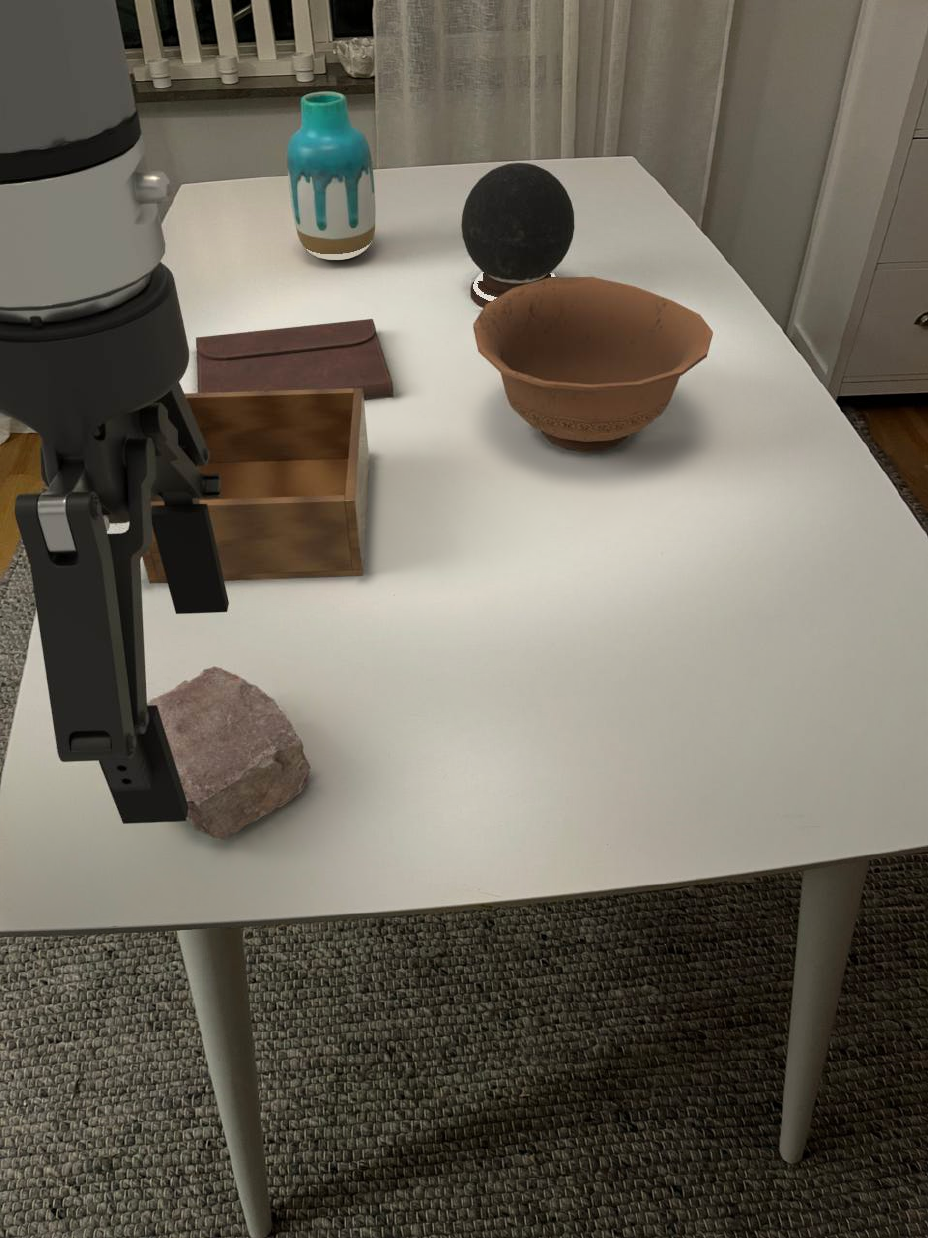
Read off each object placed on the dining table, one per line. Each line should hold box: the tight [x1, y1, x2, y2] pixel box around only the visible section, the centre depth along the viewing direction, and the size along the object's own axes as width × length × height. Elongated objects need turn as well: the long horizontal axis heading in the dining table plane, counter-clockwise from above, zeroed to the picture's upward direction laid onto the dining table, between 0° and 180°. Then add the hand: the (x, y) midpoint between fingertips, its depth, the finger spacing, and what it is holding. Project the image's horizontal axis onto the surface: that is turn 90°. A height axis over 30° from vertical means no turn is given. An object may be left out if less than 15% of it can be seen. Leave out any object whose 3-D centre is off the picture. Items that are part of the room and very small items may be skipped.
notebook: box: [195, 318, 394, 400], centre depth 109 cm, size 15×20×2 cm
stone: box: [147, 666, 311, 840], centre depth 68 cm, size 12×9×5 cm
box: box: [141, 388, 370, 584], centre depth 88 cm, size 18×18×8 cm
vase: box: [286, 91, 377, 254], centre depth 127 cm, size 11×11×19 cm
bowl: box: [472, 276, 714, 453], centre depth 97 cm, size 22×22×11 cm
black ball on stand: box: [460, 162, 575, 309], centre depth 119 cm, size 13×13×15 cm
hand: (181, 702), depth 49 cm, fingers open, 13 cm apart
